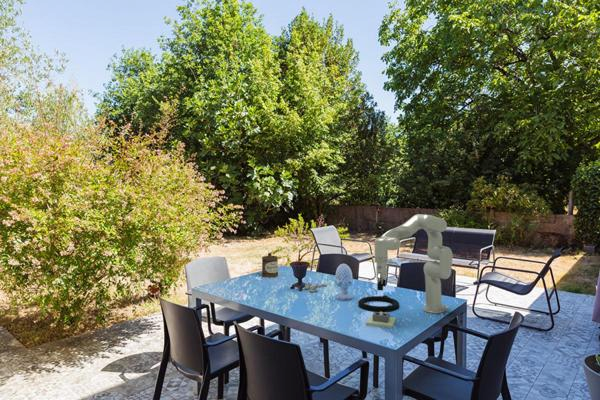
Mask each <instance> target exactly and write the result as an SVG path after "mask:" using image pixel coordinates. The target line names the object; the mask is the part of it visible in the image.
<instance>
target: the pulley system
mask: <svg viewBox="0 0 600 400" xmlns="http://www.w3.org/2000/svg"><path fill="white" fill-rule="evenodd" d="M326 287H328V284H326V283H322V284H320V283H315V285H314V286H313V285H312V283H305V285H304V289H305V290H309V292H310V293H313V292H316V293H317V292H319V289H318V288H326Z"/></svg>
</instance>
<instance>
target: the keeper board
mask: <svg viewBox="0 0 600 400" xmlns="http://www.w3.org/2000/svg"><path fill="white" fill-rule="evenodd" d="M383 313H384V312H380V315H383ZM396 321H397V318H396V317H391V316H390V320H389V322H388V323H387V322H378V321H373V314H372V315H371V314H370V316H369V318H368V319H367V320H366V322H365V325H366V326H369V327H370V326H371V327H380V328H388V329H394V325H395V324H396Z"/></svg>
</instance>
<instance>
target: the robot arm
mask: <svg viewBox="0 0 600 400" xmlns="http://www.w3.org/2000/svg"><path fill="white" fill-rule="evenodd" d="M447 226H448V224H447V221H446V219H444V218H441V217H438V216H434V215H431V214H424V213H423V214H422V213H421V214H420V213H418V214H415V215H413V216H411V218H409V219H407V220H406V221H405V222H404V223H402V224H401V225H399V226H397V227H394V228H392V229H389V230H387V231H386V232H385V233H383V234H382V235H381V236H380V237H378V238H375V239H374V263H376V269H375V270H376V271H375V272H376V280H377V285H376V286H377V287H376V289H377V291H384V287H386V286H387V278H388V266H387V265H388V262H389V260H388V259H389V257H388V256H389V255H388V254H389V253H388V251H397V250H398V249H400V248H401V245H402V243H401V241H400V239H406V238H410V237H412V236H413V235H414V234H415V233H416V232H418V231H419V230H420V229H423V230H424V231H425V232H426V234H427V237H428V239H427V240H428V243H427V257H428V258H429V259H431V260H432V261H431V260H430V261H427V262H425V264H424V265H423V273H424V274H423V275H424V282H425V306H423V307H422V311H424V312H426V313H430V314H442V313H444V312H445V310H448V311H449V308H450V306H447V305H443V303H442V282H441V279H442V280H447V279H449V278H450V276H451V275H452V266H453V256H454V255H453V251H452V249H451V248H450V247H448V246H445V245H443V235H442V233H443V232H444V231H446V230H447V228H448V227H447ZM433 260H434V261H433Z"/></svg>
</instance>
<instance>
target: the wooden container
mask: <svg viewBox="0 0 600 400" xmlns="http://www.w3.org/2000/svg"><path fill="white" fill-rule="evenodd" d="M278 262H279V261H278V256H277V255H273V254H272V252H268V253H267V255H264V256H262V257H261V267H262V268H261V274H262V275H261V276H262V277H263V278H265V277H269V278H268V279H271V277H273V278H277V277H279V265H278Z"/></svg>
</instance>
